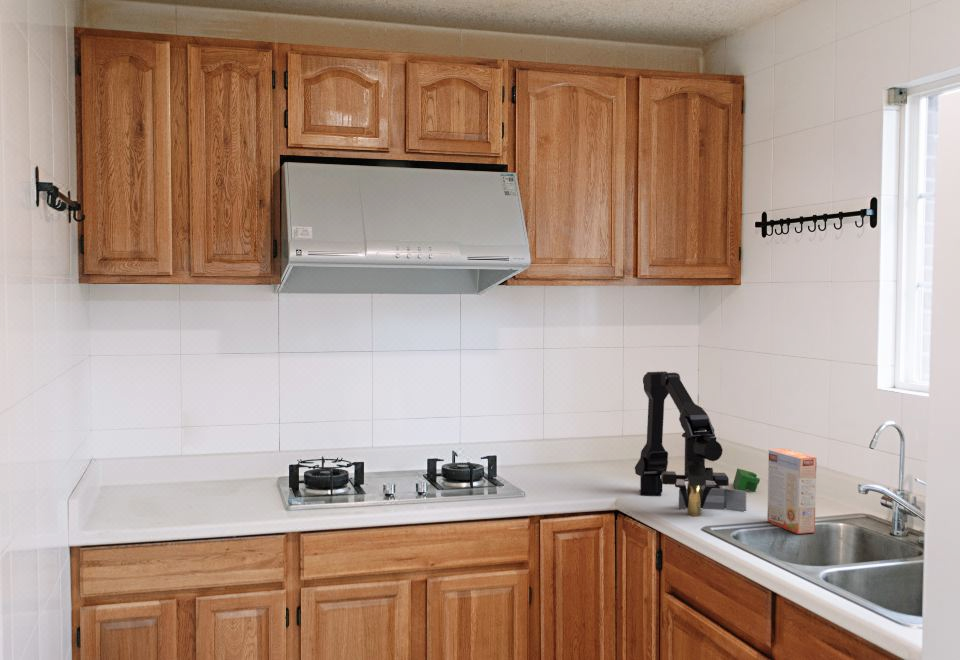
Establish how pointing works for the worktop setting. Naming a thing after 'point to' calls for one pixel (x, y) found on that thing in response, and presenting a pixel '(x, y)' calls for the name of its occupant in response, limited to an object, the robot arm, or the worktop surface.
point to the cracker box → (792, 490)
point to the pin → (694, 500)
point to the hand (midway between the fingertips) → (694, 507)
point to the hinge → (721, 499)
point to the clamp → (745, 480)
